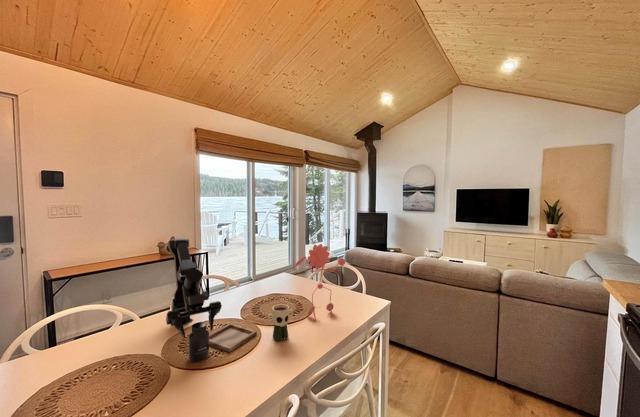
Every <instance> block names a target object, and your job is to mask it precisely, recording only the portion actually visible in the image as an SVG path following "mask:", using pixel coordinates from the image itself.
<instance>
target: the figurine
mask: <svg viewBox="0 0 640 417" xmlns="http://www.w3.org/2000/svg"><path fill="white" fill-rule="evenodd" d="M328 250H329V247H328V246H327V245H325V246H323V244H322V243H320V244H318V245H317V244H314V245H313V247H312V249H309V250H308V254H309V255H308V257H307V256H306V255H304V256H302V257H301V258H300V259H299V260H297V261H296V263H295V265H294V268H296V267H298V266H300V265H301V264H302V263H303V262H304V261H305V262H306V264H307V266H308V268H309V271H310V272H311V273H316V272H319V271H321V272H320V278H319V283H317V287H316V288H315V289H314V291H313V293H312V294H311V300H312V301H311V304H312V305H311V307H310V310H309V311H308V312H307V317H309V316H310V315H311V314H312V313H313V318H314V320H315V321H316V320H317V319H316V312H315V309H316V306H315V305H314V294H315V292H316V291H317V289H320V290H322V289H323V288H324V289H326V290H328V291H330V296H329V303H327V304H326V307H325V309H326V310H327V311H328V312H330V315H331V317H332V318H333V317H334V315H333V310H334V308H335V307H334V304H333V303H331V300H332V290H331V289H330V288H327V287H325V286H324V284H323V283H321V281H322V276H323V271H325V272H326V271H327V272H330V273H334V272H335V270H336V269H337V267H338V266H339V265H340V266H341V267H343V266H344V265H346V260H345V259H344V258H343V257H340V258H338V259H337V263H336V266H335V267H334V268H333V269H332V270H330V269H326V268H325V266H326V263H327V264H328V263H330V261H331V259H330V257H329V256H330V255H331V254H330V251H328ZM312 267H314V269H315V270H312ZM342 314H343V315H344V313H342Z"/></svg>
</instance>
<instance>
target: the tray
mask: <svg viewBox="0 0 640 417" xmlns="http://www.w3.org/2000/svg"><path fill="white" fill-rule="evenodd" d="M255 335H256V336H257V331H256V330H253V329H250V328H246V327H244V326H240V325H238V324H234V323H232V322H231V323H229V324H227V325H225V326H222V327H221V328H219V329H217V330H215V331H214V332H213V331H212V332H211V333H209V346H211V345H212V347H213V348H216V347H217V349H219V350H221V351H225V352H227V353H231V352H233V351H235V350H236V349H238V348H239V347H240V345H241V346H242V345H244V344H245V343H247V342H248V341H249V339H250V338H251V339H252V337H253V336H254V337H256V336H255ZM254 337H253V338H254ZM251 339H250V340H251ZM247 340H248V341H247ZM246 341H247V342H246ZM244 342H245V343H244ZM243 343H244V344H243ZM237 347H238V348H237Z"/></svg>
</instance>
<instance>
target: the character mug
mask: <svg viewBox="0 0 640 417" xmlns="http://www.w3.org/2000/svg"><path fill="white" fill-rule="evenodd" d="M293 317H294V309H290V306H289V305H288V304H275V305H273V306H272V307H271V313H268V314H267V322H268V323H272V325H274V326H273V332H272V339H273V340H274V341H276V342H282V341H283V340H284V341H286V340H287V339H288V338H289V331H288V326H287V325H288V324H289V322H290V318H291V319H292V318H293Z"/></svg>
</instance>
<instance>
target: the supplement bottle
mask: <svg viewBox="0 0 640 417" xmlns="http://www.w3.org/2000/svg"><path fill="white" fill-rule="evenodd" d="M209 335H210V332H209V330H208V329H207V323H206V322H204V321H199V322H195V323H193V324H191V332H190V333H189V335H188V360H189V361H190V362H191V363H200V362H202V361H203V362H204V361H205V360H207V359H208V357H209V354H210V345H209Z"/></svg>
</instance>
